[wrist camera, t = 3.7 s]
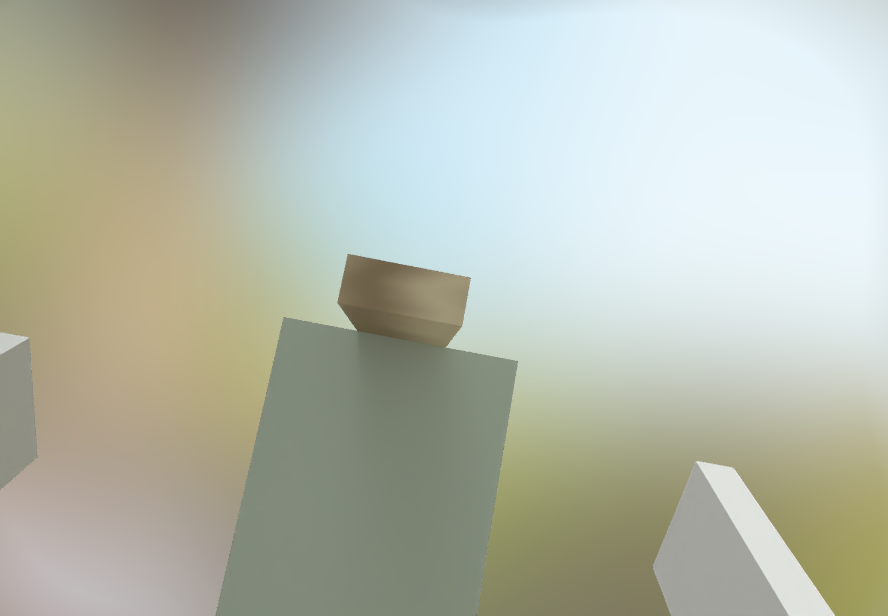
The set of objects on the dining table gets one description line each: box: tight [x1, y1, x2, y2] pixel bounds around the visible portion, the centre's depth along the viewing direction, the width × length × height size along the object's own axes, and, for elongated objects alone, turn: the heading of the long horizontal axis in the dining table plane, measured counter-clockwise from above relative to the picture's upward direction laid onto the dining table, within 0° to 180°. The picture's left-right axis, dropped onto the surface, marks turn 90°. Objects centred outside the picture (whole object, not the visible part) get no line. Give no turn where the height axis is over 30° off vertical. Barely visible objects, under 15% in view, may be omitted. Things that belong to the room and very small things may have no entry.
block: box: [338, 254, 471, 347], centre depth 32 cm, size 4×21×2 cm, turn 4°
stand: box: [216, 317, 518, 616], centre depth 34 cm, size 13×14×30 cm
